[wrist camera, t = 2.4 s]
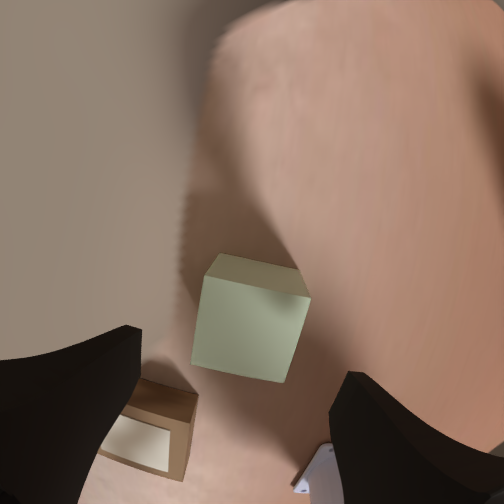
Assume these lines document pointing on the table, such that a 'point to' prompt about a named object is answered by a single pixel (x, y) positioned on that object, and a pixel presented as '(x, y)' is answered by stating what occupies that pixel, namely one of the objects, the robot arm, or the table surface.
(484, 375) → the table surface
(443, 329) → the table surface
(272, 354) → the cube
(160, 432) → the base block
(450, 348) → the table surface
